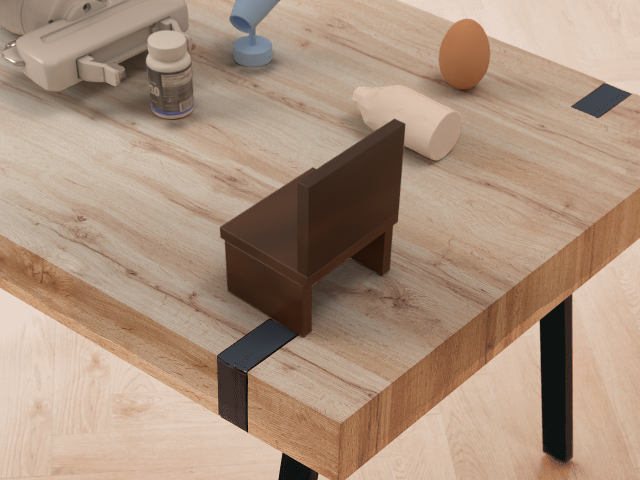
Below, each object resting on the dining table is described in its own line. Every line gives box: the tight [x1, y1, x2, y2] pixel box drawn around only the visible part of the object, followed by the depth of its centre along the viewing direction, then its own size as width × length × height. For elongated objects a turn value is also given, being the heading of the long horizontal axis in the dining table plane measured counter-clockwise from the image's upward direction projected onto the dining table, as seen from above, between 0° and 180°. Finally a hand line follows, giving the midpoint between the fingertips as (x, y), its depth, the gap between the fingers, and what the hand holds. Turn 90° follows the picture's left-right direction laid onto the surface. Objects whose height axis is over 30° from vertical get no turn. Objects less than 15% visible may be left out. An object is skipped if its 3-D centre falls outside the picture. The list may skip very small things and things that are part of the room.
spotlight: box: [228, 0, 281, 68], centre depth 123 cm, size 5×10×7 cm
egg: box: [438, 18, 491, 90], centre depth 121 cm, size 6×6×8 cm
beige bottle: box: [352, 84, 463, 161], centre depth 113 cm, size 6×12×6 cm, turn 51°
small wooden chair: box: [219, 119, 406, 338], centre depth 92 cm, size 10×12×16 cm
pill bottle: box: [145, 30, 195, 120], centre depth 114 cm, size 5×5×8 cm
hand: (155, 61), depth 115 cm, fingers open, 8 cm apart
